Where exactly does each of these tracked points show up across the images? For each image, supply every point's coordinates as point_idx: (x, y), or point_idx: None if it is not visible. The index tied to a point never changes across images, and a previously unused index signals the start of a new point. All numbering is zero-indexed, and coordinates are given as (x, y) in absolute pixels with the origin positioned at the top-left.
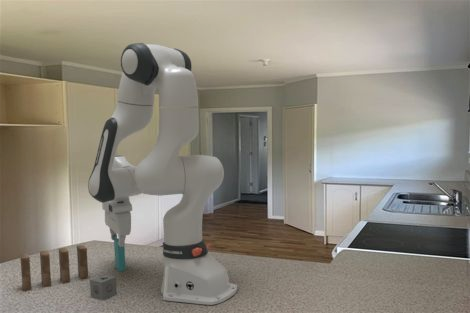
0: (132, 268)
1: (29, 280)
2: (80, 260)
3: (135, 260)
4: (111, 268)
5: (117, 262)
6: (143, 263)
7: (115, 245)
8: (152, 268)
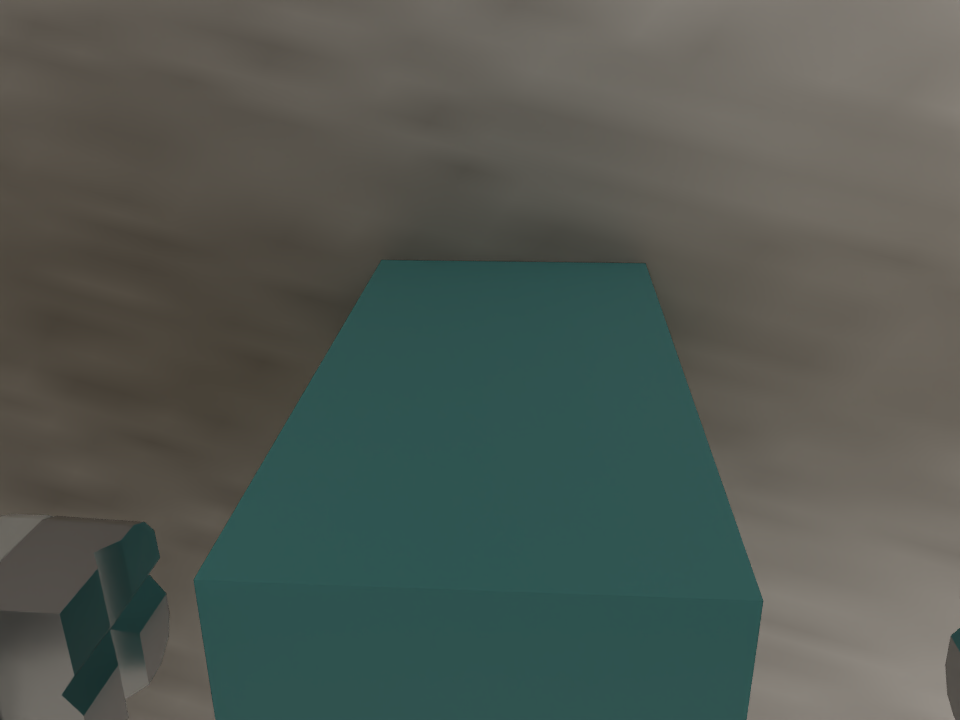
0: None
1: None
2: None
3: (792, 624)
4: (637, 189)
5: (457, 306)
6: None
7: (551, 483)
8: None
